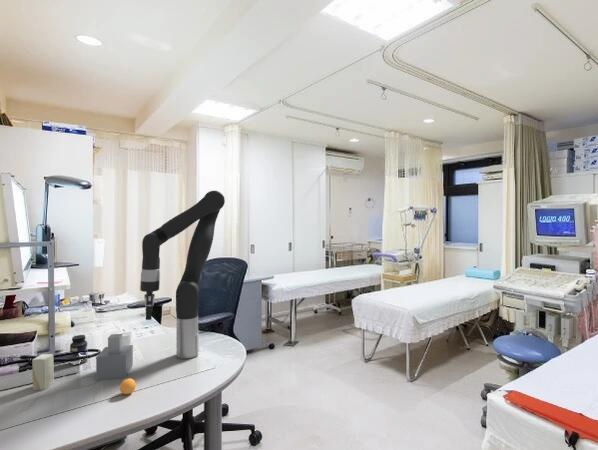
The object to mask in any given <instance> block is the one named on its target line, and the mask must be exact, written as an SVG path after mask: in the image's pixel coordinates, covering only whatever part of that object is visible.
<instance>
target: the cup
mask: <svg viewBox="0 0 598 450" xmlns="http://www.w3.org/2000/svg"><path fill="white" fill-rule="evenodd" d="M117 334H122V346H126V345H132V343H133V342H132V341H133V334H134V332H133V331H131V330H126V331H120V332H118V333H117Z"/></svg>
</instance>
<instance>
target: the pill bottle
mask: <svg viewBox="0 0 598 450" xmlns="http://www.w3.org/2000/svg"><path fill="white" fill-rule="evenodd" d="M71 339H72V340H71V341H72V342H71V343H70V344H69V345H70V346H69V353H70V352H77V351H86V350H87V352H82V353H80V354H81V355H86V354H87V355H88V341H87V340H86V335H85V334H78V335H77V334H76V335H74V336H72V338H71ZM87 361H88V358H87V359H83V360H81V362H80V363H81V364H80V365H83V364H84V363H86V362H87Z"/></svg>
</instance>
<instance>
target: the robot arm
mask: <svg viewBox="0 0 598 450" xmlns="http://www.w3.org/2000/svg"><path fill="white" fill-rule="evenodd" d="M225 202H226V201H225V196H224V194H223V193H222V192H220V191H218V190H210V191H208V192H206V194H205V195H204V196H203V197H202V198H201V199H200V200H198V201H197V203H195V204H193V206H191V207H190V208H188V209H186V210H184V211H183V212H182V211H181V213H180V214H177V215H175V216H174V217H172V218H171V219H169V220H168V221H166V222H164V224H162V225H161V226H159V227H158V228H156V229H155V230H153V231H151V232H150V233H148V234H146V235H144V237H143V238H142V241H141V244H142V245H141V251H142V252H141V253H142V261H141V262H142V263H141V272H140V273H141V274H140V285H139V290H140V292H145V293H146V294H145V293H144V298H143V299H144V306H145V321H150V320H151V321H152V314H153V306H154V304H155V303H154V302H155V293H154V292H158V291H159V290H160V284H161V283H160V281H161V271H160V270H161V269H160V268H161V267H160V266H161V258H160V251H161V250H160V249H161V246H162V245H163V244H164V243H166V242H168V241H169V240H170V239H172V238H174V237H175V236H178V235H179V234H180V233H182V232H184V231H185V230H186V229H188V228H189V227H190V226H192V225H193V224H194V223H196V222H197V221H198V222H197V225H196V227H195V228H194V231H193V234H192V236H191V240H190V243H189V245H188V246H189V247H188V250H187V256H186V264H185V268H184V271H183V274H182V276H181V279H180V280H179V283H178V284H177V288H176V291H175V312H176V313H175V314H176V318H175V319H176V321H175V322H176V323H175V324H176V337H175V338H176V350H175V351H176V358H177V359H181V360H183V359H185V360H187V359H191V358H195V357H198V356H199V350H200V347H199V343H200V341H199V340H200V339H199V338H200V337H199V334H200V333H199V283H200V279H201V274H202V271H203V269H204V267H205V264H206V262H207V260H208V258H209V255H210V252H211V250H212V249H211V248H212V244H213V240H214V237H215V226H216V221H217V219H218V216H219V213H220V211H221V210H222V209H223V207H224V206H225Z"/></svg>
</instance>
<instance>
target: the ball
mask: <svg viewBox="0 0 598 450" xmlns="http://www.w3.org/2000/svg"><path fill="white" fill-rule="evenodd" d="M136 386H137V384H136V381H135V380H134V379H133V378H125V379H123V381H121V383H120V384H119V391H120V393H121V394H123V395H130V394H131V393H133V392H134V391H135V389H136Z"/></svg>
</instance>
